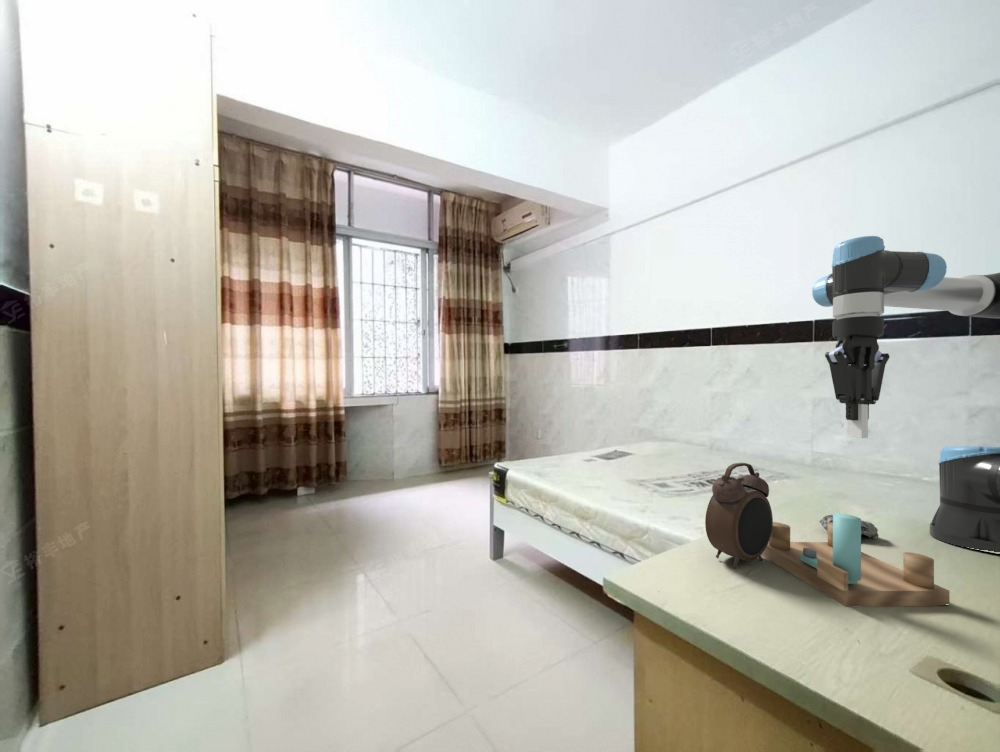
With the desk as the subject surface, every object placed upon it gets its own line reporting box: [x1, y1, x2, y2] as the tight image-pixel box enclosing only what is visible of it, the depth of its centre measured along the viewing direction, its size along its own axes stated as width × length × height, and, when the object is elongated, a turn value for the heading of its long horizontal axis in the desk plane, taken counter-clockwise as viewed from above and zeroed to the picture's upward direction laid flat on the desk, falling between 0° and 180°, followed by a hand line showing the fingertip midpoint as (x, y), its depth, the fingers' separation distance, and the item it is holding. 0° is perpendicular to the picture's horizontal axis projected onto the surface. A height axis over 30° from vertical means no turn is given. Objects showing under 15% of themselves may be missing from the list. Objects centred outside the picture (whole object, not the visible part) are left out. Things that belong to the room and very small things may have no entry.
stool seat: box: [761, 521, 951, 608], centre depth 75 cm, size 18×20×7 cm
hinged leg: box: [800, 512, 862, 584], centre depth 70 cm, size 4×10×11 cm, turn 3°
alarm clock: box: [704, 462, 774, 569], centre depth 80 cm, size 14×7×20 cm, turn 117°
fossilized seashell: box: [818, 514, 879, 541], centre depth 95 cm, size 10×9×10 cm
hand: (857, 437), depth 77 cm, fingers closed
